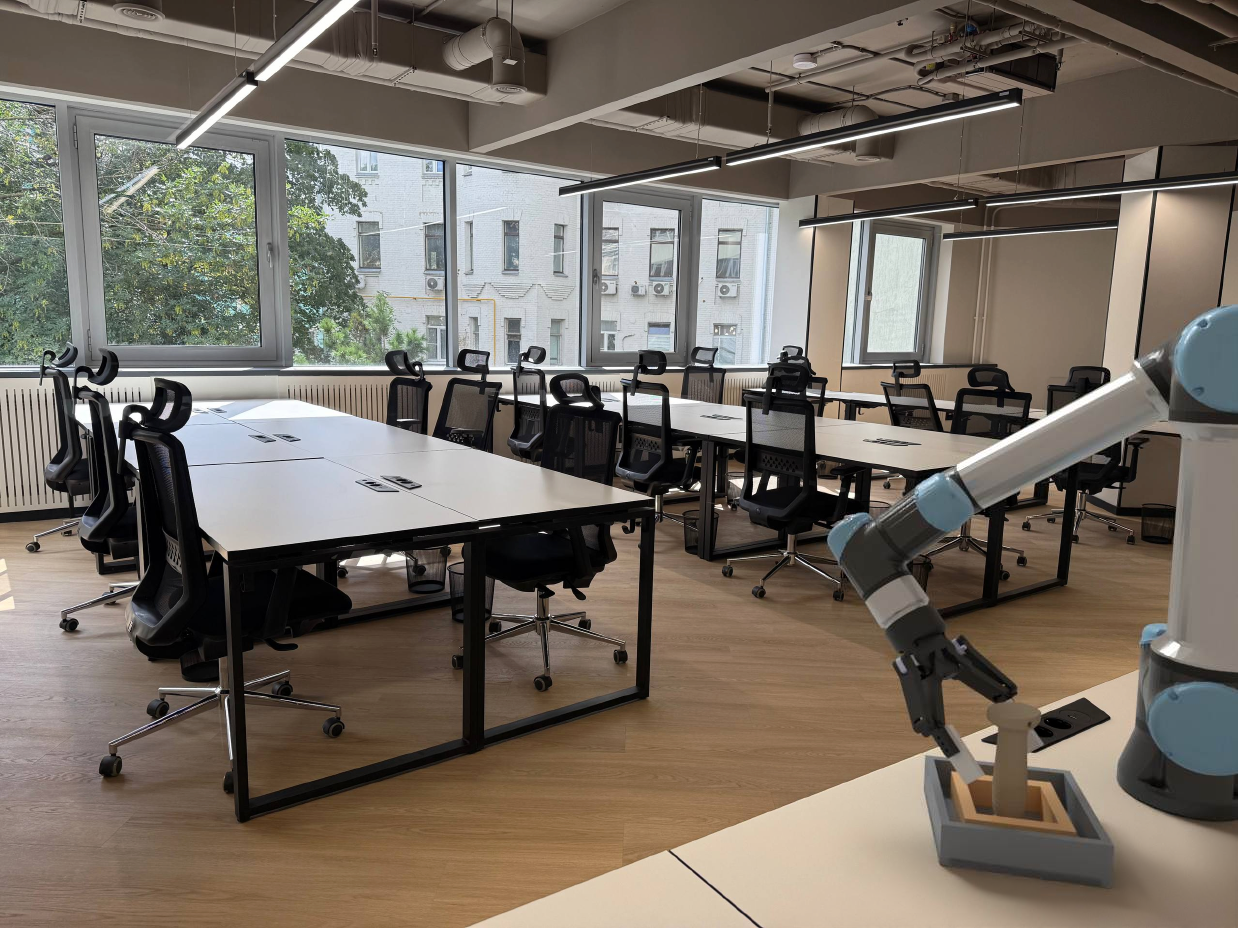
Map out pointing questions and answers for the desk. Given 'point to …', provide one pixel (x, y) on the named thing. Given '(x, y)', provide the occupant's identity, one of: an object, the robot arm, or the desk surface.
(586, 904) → the desk surface
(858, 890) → the desk surface
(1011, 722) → the handle
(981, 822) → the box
